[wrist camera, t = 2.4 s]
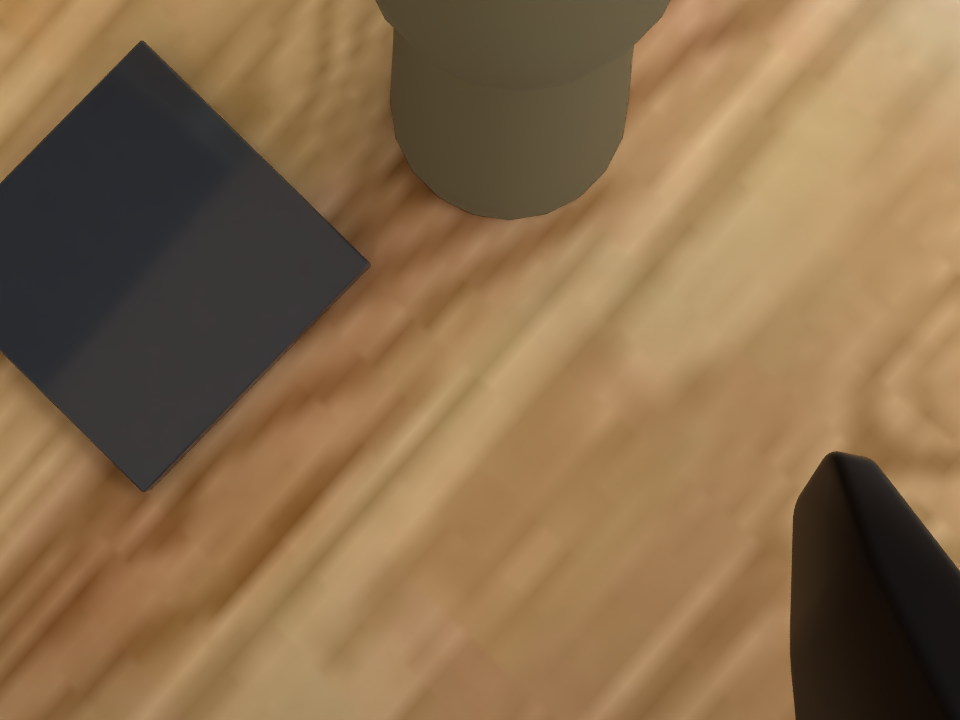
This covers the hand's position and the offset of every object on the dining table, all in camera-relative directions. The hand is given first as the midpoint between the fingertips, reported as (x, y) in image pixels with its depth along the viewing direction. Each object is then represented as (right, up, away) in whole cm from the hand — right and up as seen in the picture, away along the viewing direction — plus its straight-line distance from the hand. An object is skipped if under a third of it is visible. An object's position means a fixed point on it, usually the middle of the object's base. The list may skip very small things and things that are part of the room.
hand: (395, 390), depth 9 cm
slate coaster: (-7, +3, +13) cm, 15 cm away
